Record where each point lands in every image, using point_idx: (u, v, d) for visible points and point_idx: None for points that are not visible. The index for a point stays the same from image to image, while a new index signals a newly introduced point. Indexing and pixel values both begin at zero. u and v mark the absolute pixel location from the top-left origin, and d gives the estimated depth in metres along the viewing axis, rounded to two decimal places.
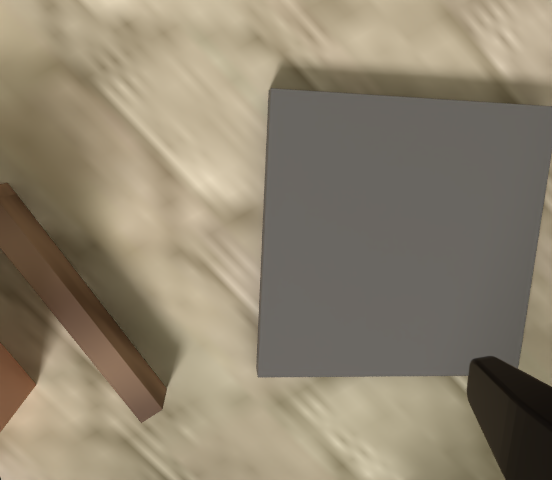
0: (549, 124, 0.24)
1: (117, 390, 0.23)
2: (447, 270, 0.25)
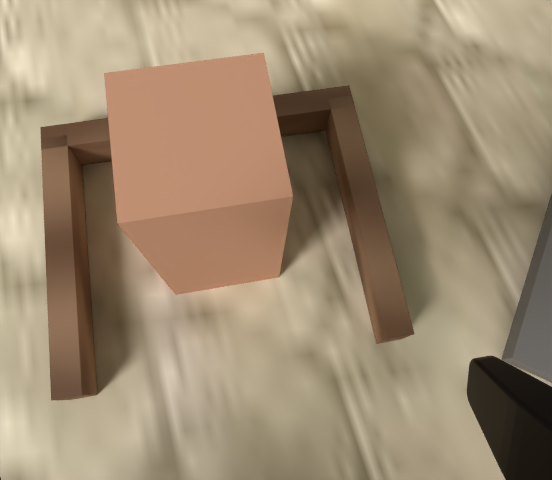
0: None
1: (378, 292, 0.21)
2: None
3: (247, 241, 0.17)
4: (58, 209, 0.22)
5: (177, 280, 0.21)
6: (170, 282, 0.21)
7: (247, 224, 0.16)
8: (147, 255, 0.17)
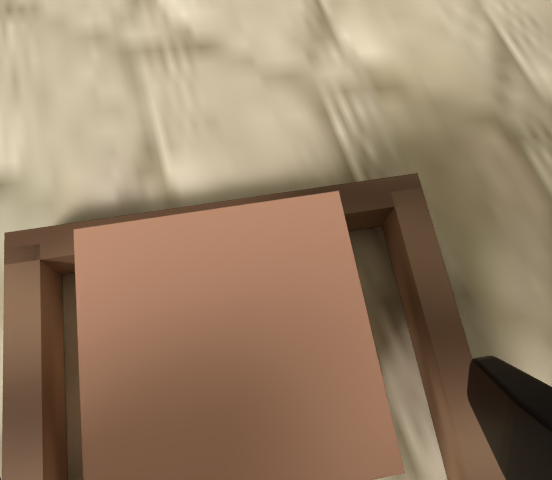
0: None
1: None
2: None
3: None
4: (23, 355, 0.16)
5: None
6: None
7: None
8: None
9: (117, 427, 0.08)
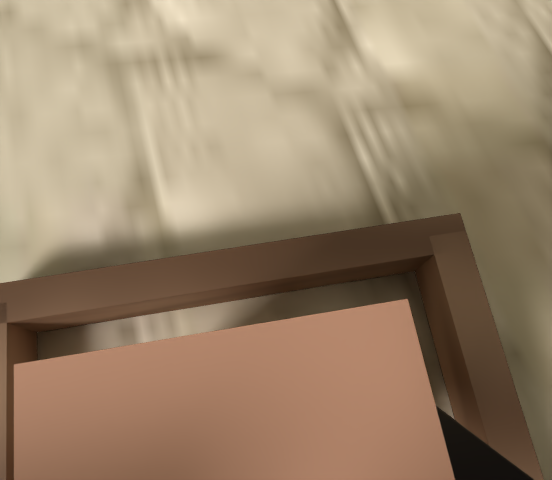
0: None
1: None
2: None
3: None
4: None
5: None
6: None
7: None
8: None
9: None
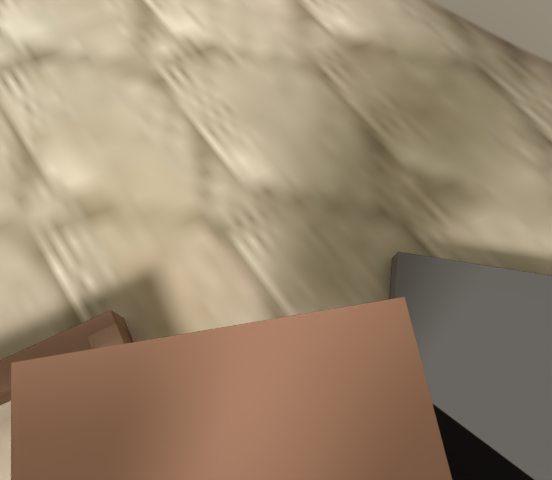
0: None
1: None
2: None
3: None
4: None
5: None
6: None
7: None
8: None
9: None
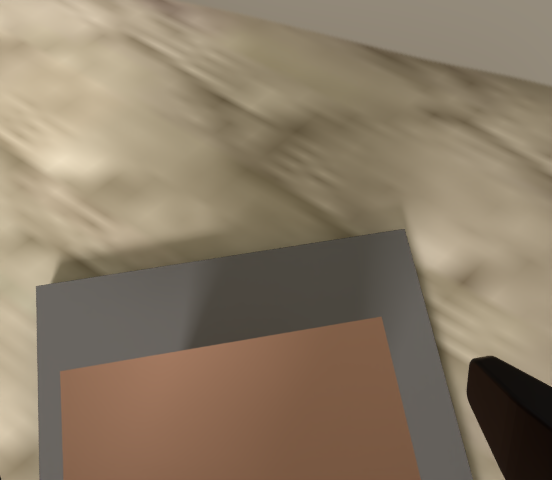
0: (401, 250, 0.19)
1: None
2: None
3: None
4: None
5: None
6: None
7: None
8: None
9: None
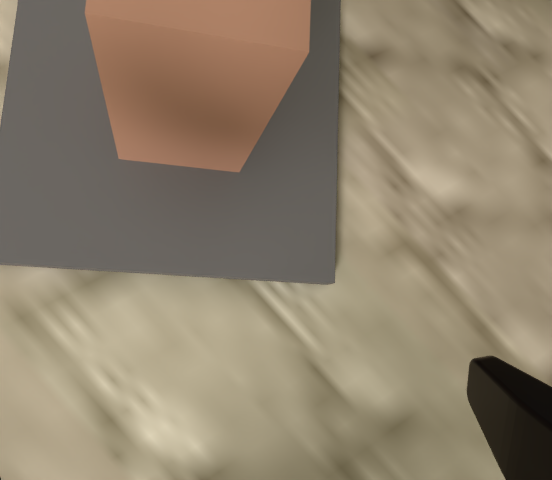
0: (333, 9, 0.23)
1: None
2: None
3: (228, 107, 0.15)
4: None
5: (128, 138, 0.18)
6: (119, 138, 0.18)
7: (240, 78, 0.13)
8: (105, 84, 0.14)
9: None
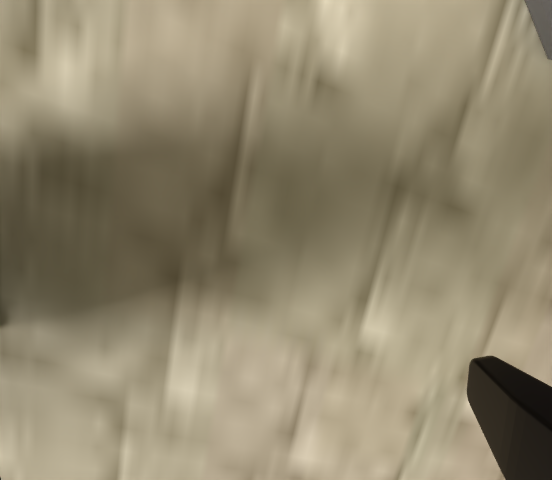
0: None
1: None
2: None
3: None
4: None
5: None
6: None
7: None
8: None
9: None
